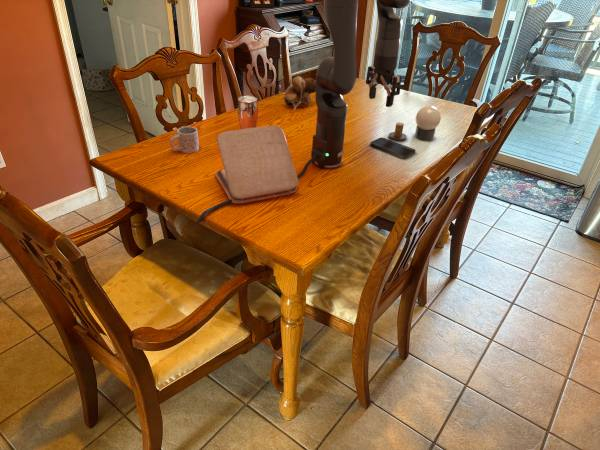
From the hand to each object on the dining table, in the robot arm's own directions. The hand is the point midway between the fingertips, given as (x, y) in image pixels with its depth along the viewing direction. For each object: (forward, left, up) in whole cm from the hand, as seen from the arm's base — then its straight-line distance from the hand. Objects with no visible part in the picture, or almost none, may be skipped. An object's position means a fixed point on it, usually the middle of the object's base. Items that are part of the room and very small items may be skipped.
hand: (380, 102), depth 151 cm
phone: (+6, -4, -17) cm, 18 cm away
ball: (+25, -1, -9) cm, 26 cm away
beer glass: (-36, +26, -17) cm, 48 cm away
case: (-49, -4, -17) cm, 52 cm away
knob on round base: (+15, +3, -17) cm, 23 cm away
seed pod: (0, +50, -17) cm, 53 cm away
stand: (+25, -1, -17) cm, 30 cm away
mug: (-59, +28, -17) cm, 68 cm away
